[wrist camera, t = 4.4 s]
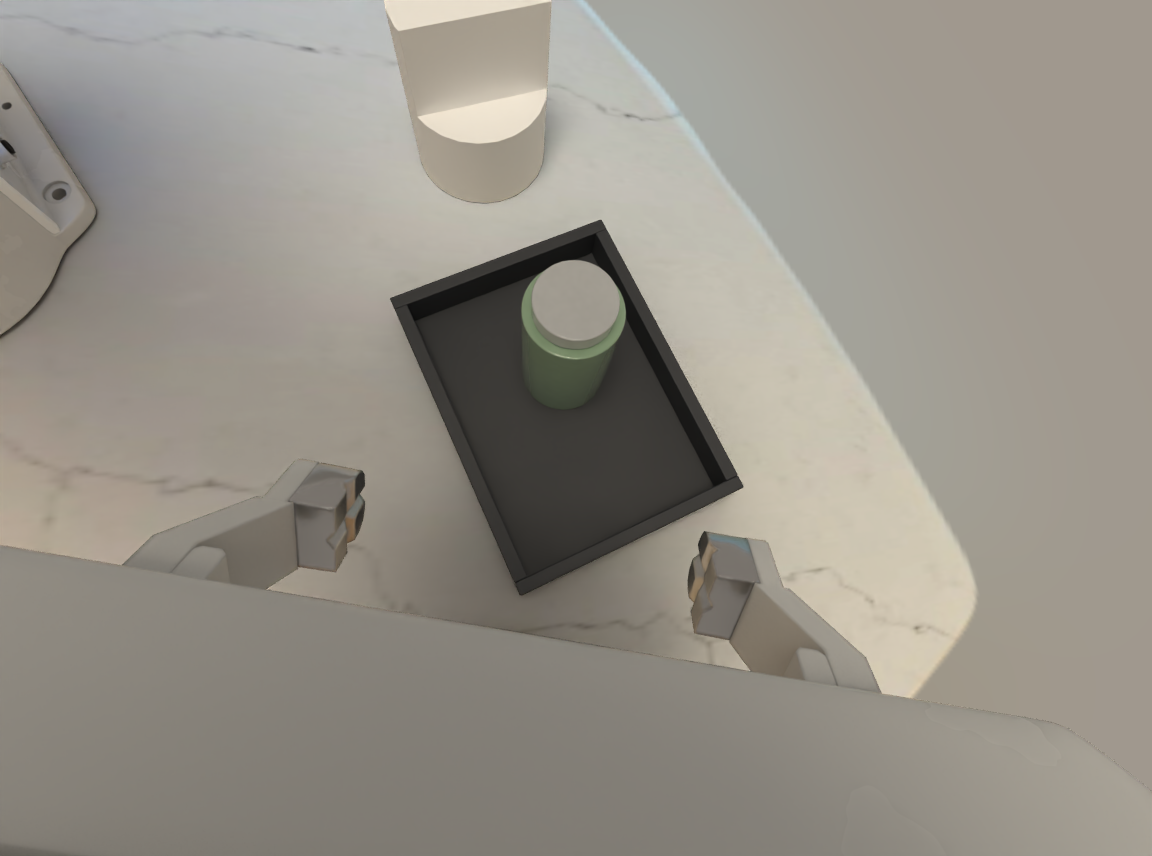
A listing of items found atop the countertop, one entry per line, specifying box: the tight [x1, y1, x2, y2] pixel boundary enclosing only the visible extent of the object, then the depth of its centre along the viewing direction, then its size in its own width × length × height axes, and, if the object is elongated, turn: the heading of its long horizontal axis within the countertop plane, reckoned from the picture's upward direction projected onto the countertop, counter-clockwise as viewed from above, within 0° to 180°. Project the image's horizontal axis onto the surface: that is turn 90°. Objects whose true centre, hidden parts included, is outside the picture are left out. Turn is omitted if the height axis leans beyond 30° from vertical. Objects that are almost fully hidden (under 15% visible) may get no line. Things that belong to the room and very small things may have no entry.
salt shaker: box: [521, 260, 626, 410], centre depth 35 cm, size 5×5×10 cm
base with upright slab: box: [384, 0, 552, 203], centre depth 39 cm, size 9×9×12 cm
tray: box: [390, 220, 743, 595], centre depth 38 cm, size 20×15×3 cm
